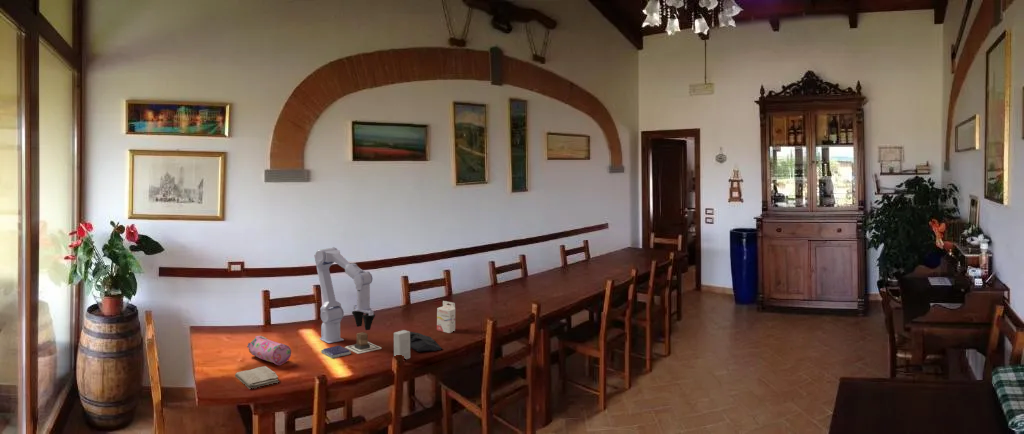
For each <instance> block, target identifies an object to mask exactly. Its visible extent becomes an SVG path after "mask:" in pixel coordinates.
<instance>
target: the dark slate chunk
mask: <svg viewBox="0 0 1024 434" xmlns="http://www.w3.org/2000/svg"><path fill="white" fill-rule="evenodd" d="M409 332H410V349H412V350H414V351H416V352H419V353H421V352H422V353H423V352H438V351H437V350H439V351H442V350H441V349H443V348H442V347H441V346H440V345H439V344H438V342H436V341H435V339H433V338H432V337H431V336H428V335H425V334H422V333H419V332H413V331H409Z"/></svg>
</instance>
